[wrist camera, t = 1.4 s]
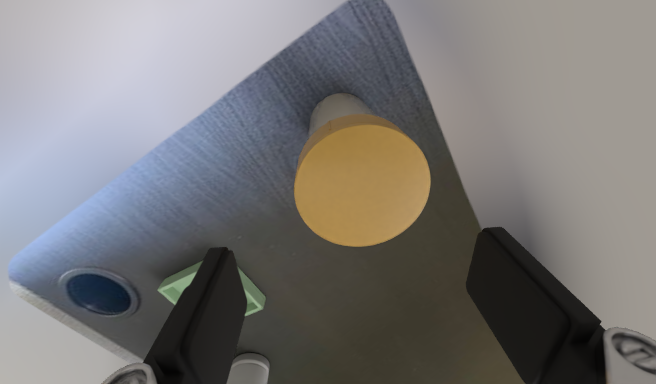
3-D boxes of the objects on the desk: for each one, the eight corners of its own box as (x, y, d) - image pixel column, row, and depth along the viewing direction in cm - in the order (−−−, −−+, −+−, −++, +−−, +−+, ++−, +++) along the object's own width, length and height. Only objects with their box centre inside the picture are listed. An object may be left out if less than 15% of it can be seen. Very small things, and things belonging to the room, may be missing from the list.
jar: (297, 113, 27) (279, 166, 14) (356, 80, 26) (394, 106, 13) (327, 166, 30) (335, 250, 17) (382, 139, 29) (434, 207, 16)
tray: (164, 278, 36) (157, 290, 35) (223, 250, 35) (218, 261, 33) (211, 320, 41) (206, 332, 39) (265, 297, 39) (263, 308, 37)
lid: (273, 150, 16) (265, 166, 14) (388, 87, 15) (401, 94, 12) (331, 238, 19) (333, 263, 17) (430, 194, 18) (447, 215, 16)
